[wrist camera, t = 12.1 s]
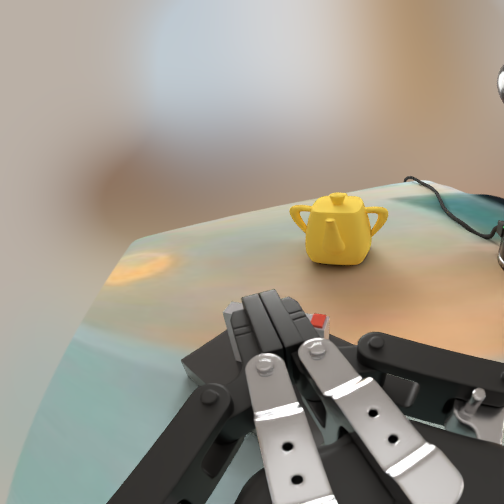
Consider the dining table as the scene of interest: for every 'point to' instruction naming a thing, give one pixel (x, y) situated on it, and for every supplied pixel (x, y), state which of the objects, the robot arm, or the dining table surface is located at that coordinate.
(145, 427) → the dining table surface
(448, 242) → the dining table surface
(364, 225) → the teapot
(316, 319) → the knob
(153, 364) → the dining table surface
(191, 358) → the hob panel
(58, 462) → the dining table surface
